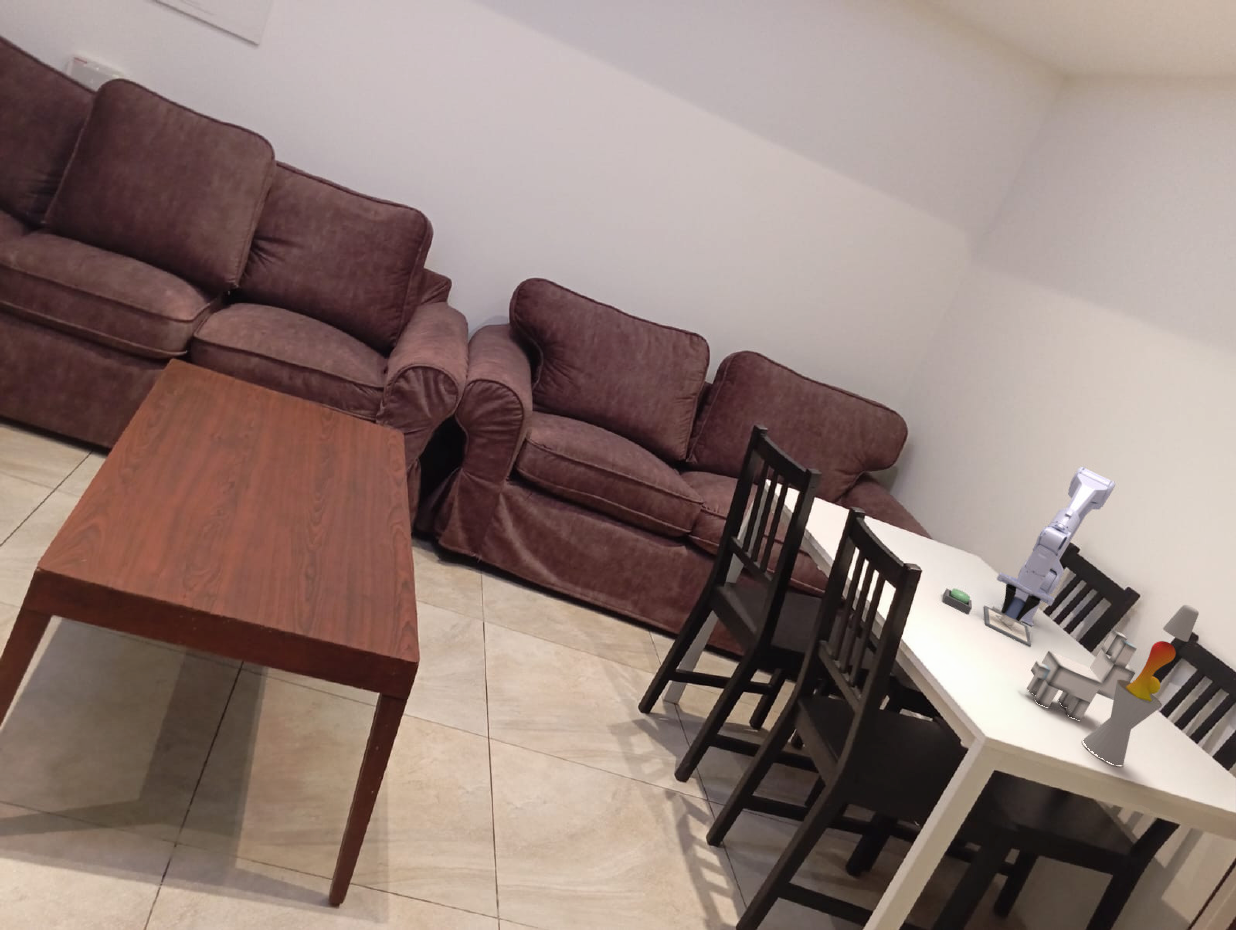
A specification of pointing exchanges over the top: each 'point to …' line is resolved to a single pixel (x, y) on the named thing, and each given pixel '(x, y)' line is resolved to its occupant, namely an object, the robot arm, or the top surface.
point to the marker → (1013, 611)
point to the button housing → (956, 602)
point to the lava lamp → (1138, 694)
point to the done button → (960, 596)
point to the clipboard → (1006, 626)
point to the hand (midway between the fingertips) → (1010, 616)
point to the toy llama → (1082, 676)
